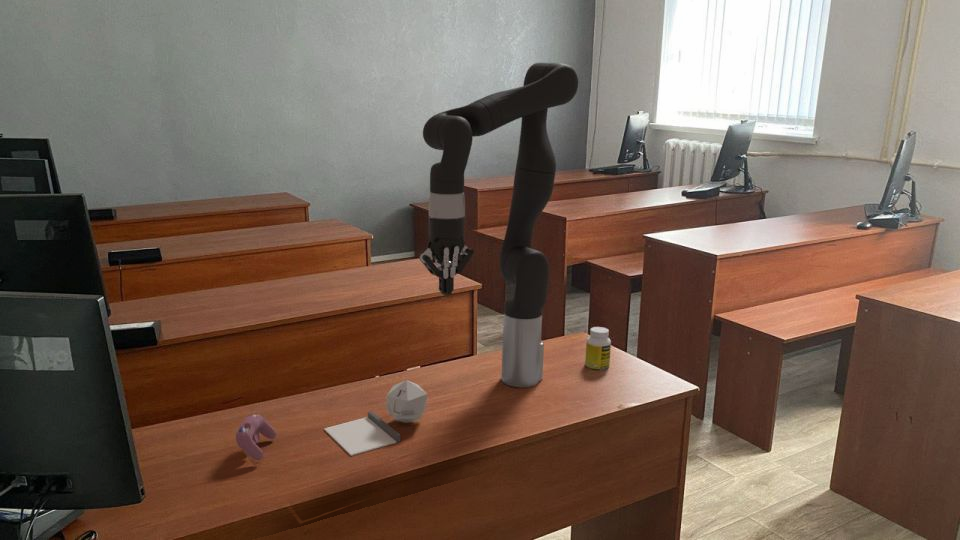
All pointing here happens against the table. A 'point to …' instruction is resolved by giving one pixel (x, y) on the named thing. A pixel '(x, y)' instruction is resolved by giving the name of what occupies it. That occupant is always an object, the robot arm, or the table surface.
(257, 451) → the video game controller
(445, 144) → the robot arm
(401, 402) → the die
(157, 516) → the table surface
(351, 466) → the table surface
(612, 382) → the table surface
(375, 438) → the white l-shaped plate
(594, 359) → the pill bottle
